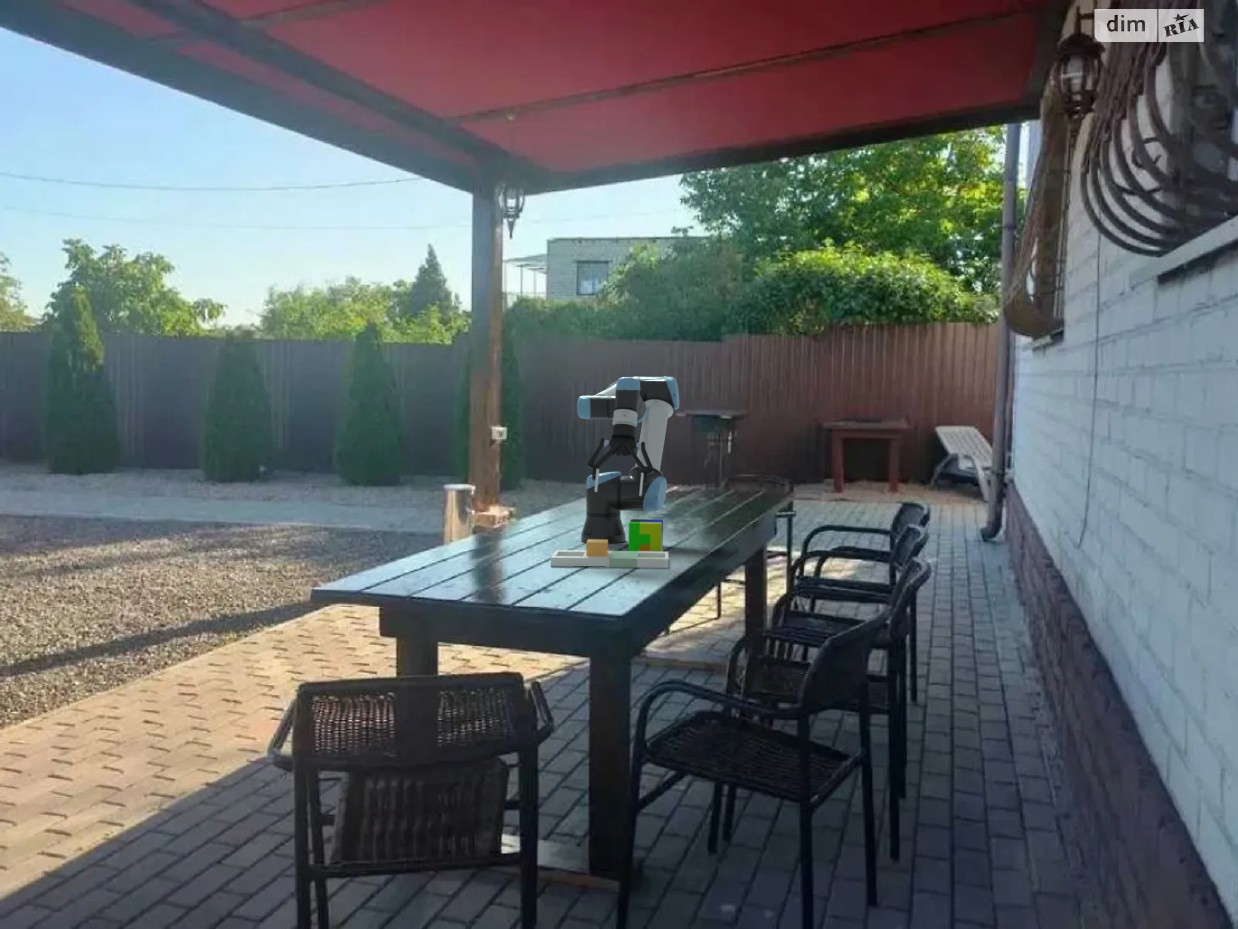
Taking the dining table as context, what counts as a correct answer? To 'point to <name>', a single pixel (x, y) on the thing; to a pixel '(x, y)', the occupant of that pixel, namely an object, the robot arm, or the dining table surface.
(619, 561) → the plate
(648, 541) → the puzzle toy
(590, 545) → the orange block
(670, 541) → the dining table surface
